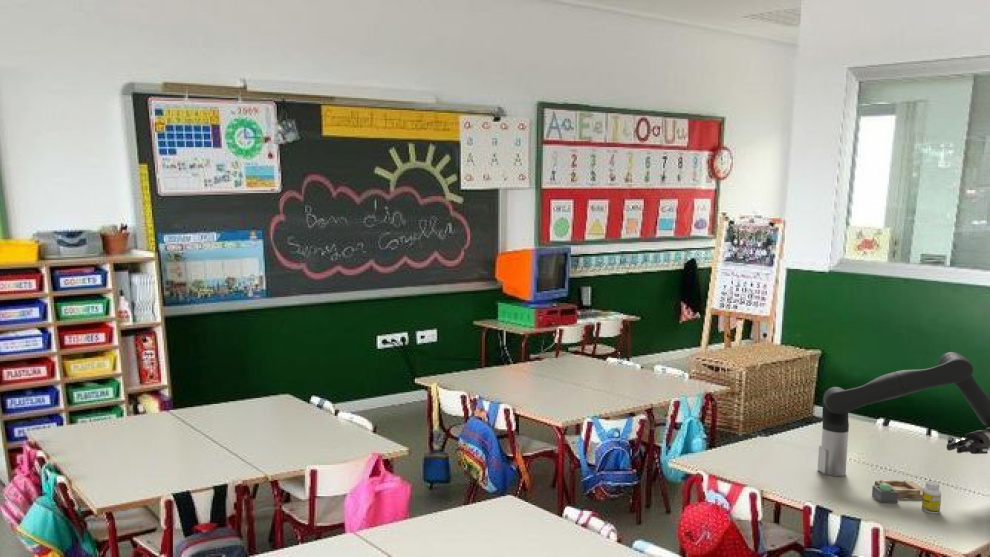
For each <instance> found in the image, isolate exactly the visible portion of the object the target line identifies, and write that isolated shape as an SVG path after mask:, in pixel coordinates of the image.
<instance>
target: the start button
mask: <svg viewBox="0 0 990 557" xmlns="http://www.w3.org/2000/svg"><path fill="white" fill-rule="evenodd" d="M880 490H881V491H891V485H890V484H886V483H880Z"/></svg>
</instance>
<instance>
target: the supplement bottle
mask: <svg viewBox="0 0 990 557" xmlns="http://www.w3.org/2000/svg"><path fill="white" fill-rule="evenodd" d="M941 502H942V491H941V490H940V483H939V482H936V481H933V480H932V481H931V480H927V481H925V487H924V488H923V498H922V499H921V509H922V511H924V512H925V513H929V514H933V515H934V514H935V515H936V514H939V513H941Z"/></svg>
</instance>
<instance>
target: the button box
mask: <svg viewBox="0 0 990 557" xmlns="http://www.w3.org/2000/svg"><path fill="white" fill-rule="evenodd" d="M871 488H872V490H871V498H875V501H877V502H878V501H879V502H878V503H880V504H899V499H898V493H899V492H897V491H896V490H894V489H893V488H892V487H891V491H881V490H880V486H876V485H872V487H871Z"/></svg>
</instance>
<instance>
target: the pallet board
mask: <svg viewBox="0 0 990 557" xmlns="http://www.w3.org/2000/svg"><path fill="white" fill-rule="evenodd" d="M880 483H886V484H890V485H891V487H892V488H893V489H894V490H896V491H897V492H899V493H898V498H923V489H924V488H923V487H921V486H920V485H918V484H917V483H916V482H914V481H911V480H908V481H907V480H895V479H894V480H891V479H890V480H889V479H888V480H887V479H884V480H883V479H880V480H875V481H874V486H880Z"/></svg>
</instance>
